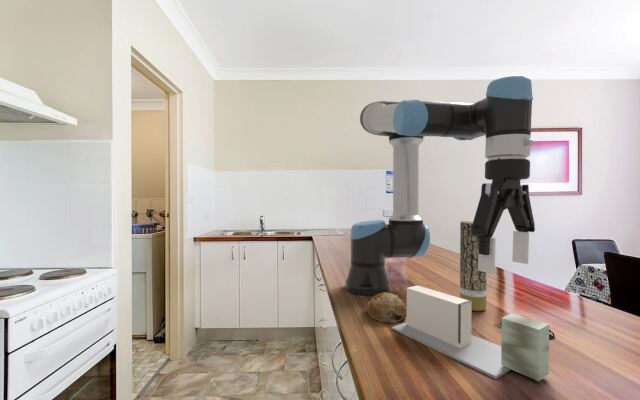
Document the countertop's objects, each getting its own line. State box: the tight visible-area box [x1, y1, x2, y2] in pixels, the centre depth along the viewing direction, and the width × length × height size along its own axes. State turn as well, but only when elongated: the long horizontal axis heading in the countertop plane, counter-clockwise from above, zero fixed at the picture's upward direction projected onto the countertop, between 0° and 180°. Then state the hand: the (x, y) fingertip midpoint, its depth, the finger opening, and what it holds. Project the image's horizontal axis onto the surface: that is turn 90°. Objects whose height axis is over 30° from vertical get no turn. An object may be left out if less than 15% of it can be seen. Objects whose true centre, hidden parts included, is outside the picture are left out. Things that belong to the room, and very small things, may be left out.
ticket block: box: [391, 285, 512, 380], centre depth 66 cm, size 24×12×10 cm, turn 34°
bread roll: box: [366, 292, 407, 324], centre depth 81 cm, size 10×10×8 cm
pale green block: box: [500, 313, 550, 382], centre depth 54 cm, size 6×4×9 cm, turn 34°
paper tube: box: [459, 219, 488, 312], centre depth 87 cm, size 7×7×25 cm
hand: (504, 267), depth 60 cm, fingers open, 13 cm apart
